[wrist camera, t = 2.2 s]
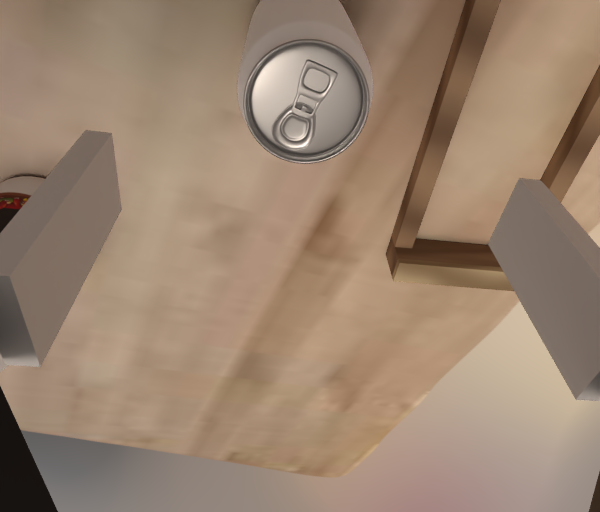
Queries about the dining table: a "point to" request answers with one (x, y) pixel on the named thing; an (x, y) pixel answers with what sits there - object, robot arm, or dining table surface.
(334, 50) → the can
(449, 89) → the guide
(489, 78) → the dining table surface
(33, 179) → the milk bottle
